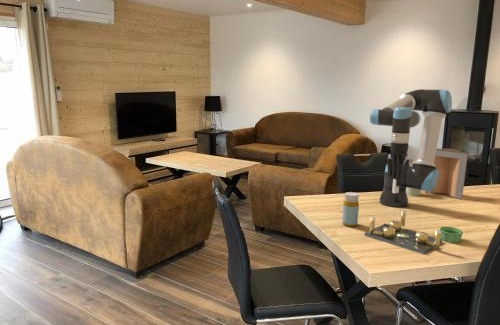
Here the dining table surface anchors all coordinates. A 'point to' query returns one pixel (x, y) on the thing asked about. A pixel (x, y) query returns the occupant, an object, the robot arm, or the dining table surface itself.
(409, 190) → the can
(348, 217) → the bottle
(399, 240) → the control panel
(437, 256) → the dining table surface
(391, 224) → the knob
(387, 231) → the knob
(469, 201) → the dining table surface
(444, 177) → the cabinet
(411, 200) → the dining table surface
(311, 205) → the dining table surface
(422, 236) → the knob
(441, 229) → the ramekin
